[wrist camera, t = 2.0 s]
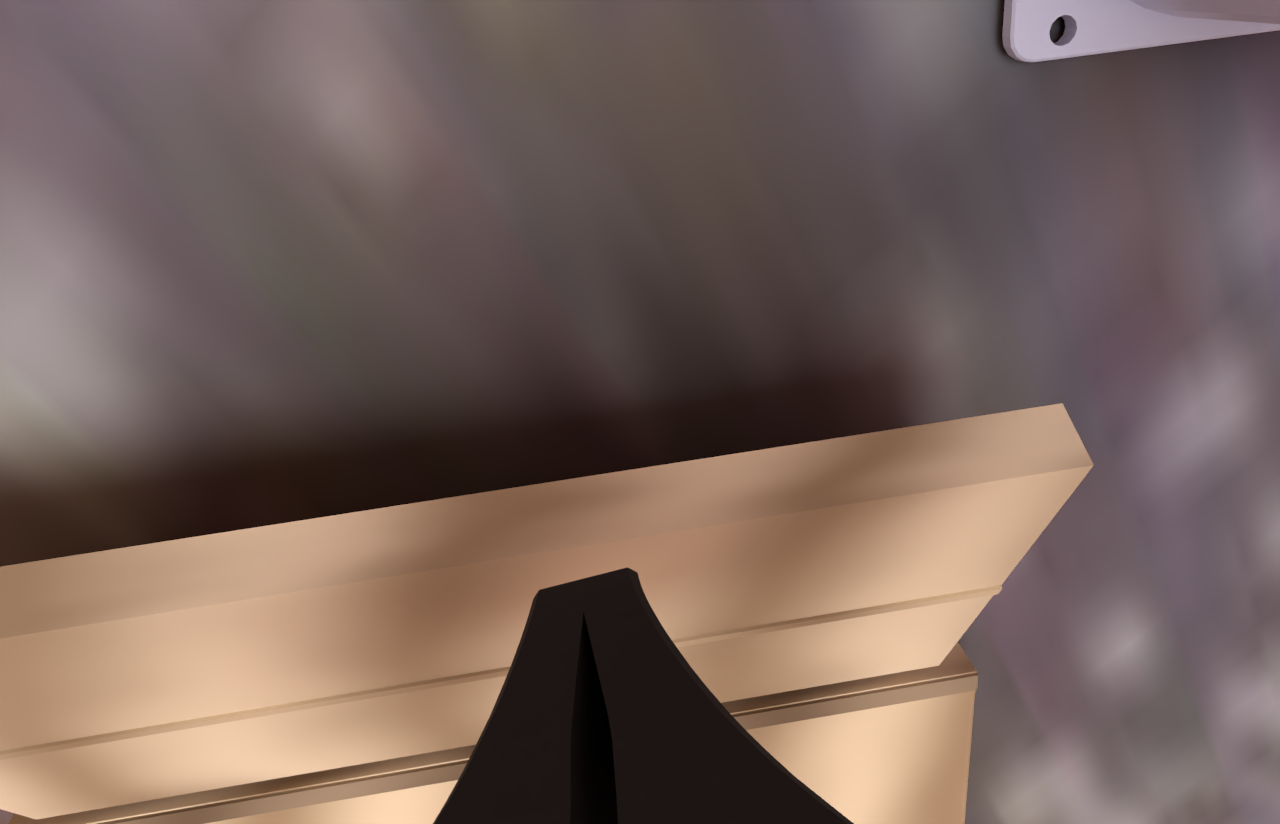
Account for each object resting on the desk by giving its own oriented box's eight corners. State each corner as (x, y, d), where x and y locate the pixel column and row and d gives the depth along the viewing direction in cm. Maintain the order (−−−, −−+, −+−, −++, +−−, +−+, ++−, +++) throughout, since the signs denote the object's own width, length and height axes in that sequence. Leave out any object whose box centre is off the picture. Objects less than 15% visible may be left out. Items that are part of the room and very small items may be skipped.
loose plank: (1062, 402, 15) (1095, 469, 14) (923, 620, 23) (940, 668, 23) (-338, 618, 14) (-378, 702, 13) (46, 766, 22) (35, 822, 21)
